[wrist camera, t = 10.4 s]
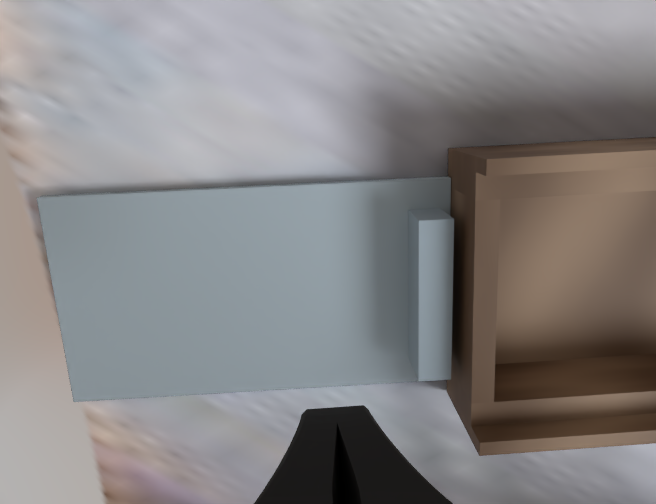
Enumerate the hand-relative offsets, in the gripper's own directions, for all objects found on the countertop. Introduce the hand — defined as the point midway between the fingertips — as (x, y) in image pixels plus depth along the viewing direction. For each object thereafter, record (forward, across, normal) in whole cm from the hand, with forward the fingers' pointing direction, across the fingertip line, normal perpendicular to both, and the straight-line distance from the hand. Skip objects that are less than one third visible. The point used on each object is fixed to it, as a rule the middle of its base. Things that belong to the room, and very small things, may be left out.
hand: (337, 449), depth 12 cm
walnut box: (+10, -13, 0) cm, 17 cm away
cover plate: (+11, +3, 0) cm, 11 cm away
